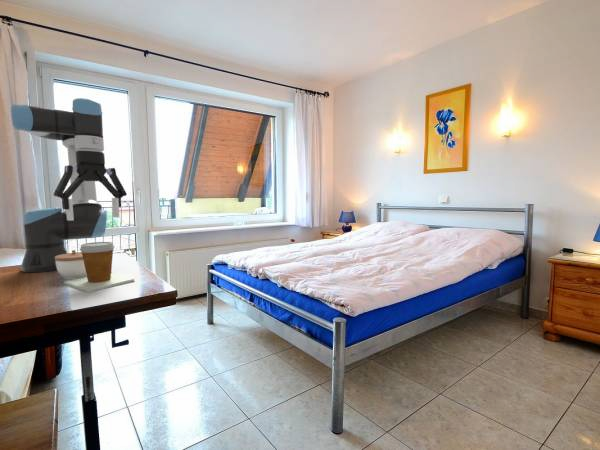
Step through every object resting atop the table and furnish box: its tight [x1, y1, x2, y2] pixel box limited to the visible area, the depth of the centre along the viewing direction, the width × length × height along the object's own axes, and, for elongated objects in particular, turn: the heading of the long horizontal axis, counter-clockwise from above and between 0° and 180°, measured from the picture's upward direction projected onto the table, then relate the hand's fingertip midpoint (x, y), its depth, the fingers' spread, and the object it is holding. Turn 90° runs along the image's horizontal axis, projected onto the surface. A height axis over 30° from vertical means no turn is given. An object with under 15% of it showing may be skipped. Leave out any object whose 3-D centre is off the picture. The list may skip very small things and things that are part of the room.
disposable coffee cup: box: [79, 241, 115, 283], centre depth 103 cm, size 10×10×12 cm
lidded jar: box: [55, 249, 87, 280], centre depth 111 cm, size 11×11×9 cm
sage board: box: [63, 272, 135, 293], centre depth 104 cm, size 16×14×1 cm
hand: (94, 218), depth 102 cm, fingers open, 13 cm apart
